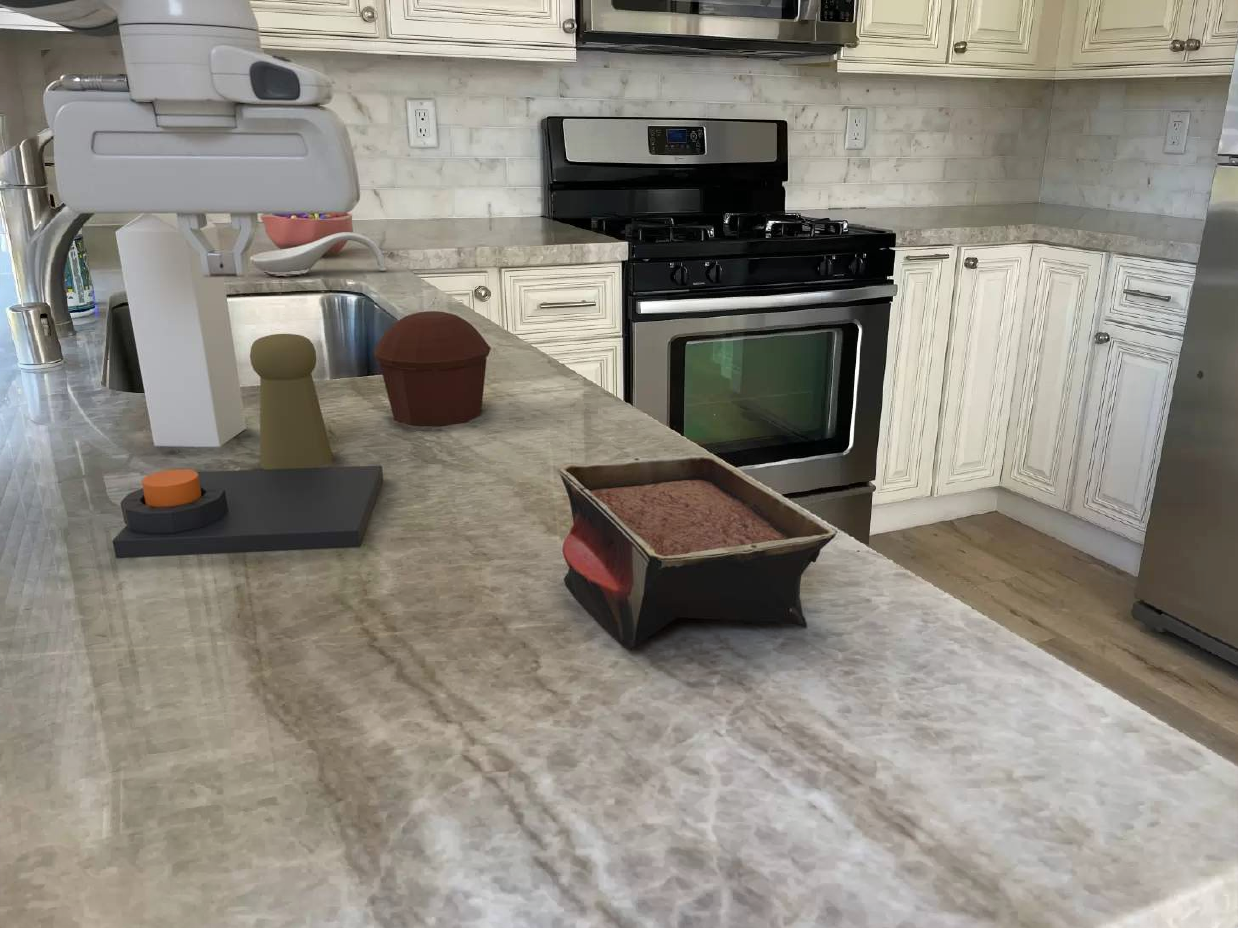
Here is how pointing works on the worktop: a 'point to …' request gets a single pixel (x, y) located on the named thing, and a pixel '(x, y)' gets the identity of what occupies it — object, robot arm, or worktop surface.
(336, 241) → the spoon rest
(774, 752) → the worktop surface
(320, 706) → the worktop surface
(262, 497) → the scale
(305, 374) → the cork
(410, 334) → the muffin
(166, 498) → the button
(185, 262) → the milk
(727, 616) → the baking dish
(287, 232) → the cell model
